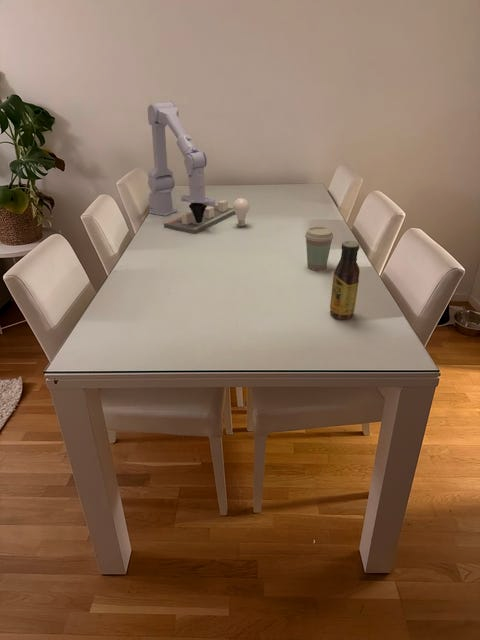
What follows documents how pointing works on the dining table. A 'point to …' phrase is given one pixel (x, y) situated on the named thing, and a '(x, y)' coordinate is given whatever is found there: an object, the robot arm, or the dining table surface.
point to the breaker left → (223, 206)
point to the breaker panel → (199, 227)
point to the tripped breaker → (186, 217)
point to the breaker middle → (209, 212)
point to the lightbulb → (241, 210)
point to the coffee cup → (318, 247)
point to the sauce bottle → (345, 282)
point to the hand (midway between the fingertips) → (199, 222)
